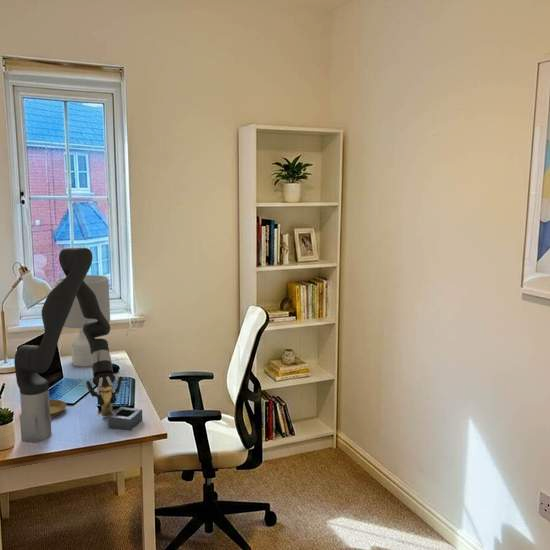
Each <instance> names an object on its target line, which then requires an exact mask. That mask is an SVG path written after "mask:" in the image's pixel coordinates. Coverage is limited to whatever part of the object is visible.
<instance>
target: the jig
mask: <svg viewBox="0 0 550 550" xmlns="http://www.w3.org/2000/svg"><path fill="white" fill-rule="evenodd" d="M142 422H143V409H141V408H132V407H126V406H123V407H122V406H120V407H119V408H117V409H116V410H114V412H113V413H112V414H111V415H109V416H107V426H108V427H107V428H108V429H112V430H120V431H127V432H131V431H133V430H134V429H135V428H136V427H137V426H138V425H140V424H141V423H142Z"/></svg>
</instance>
